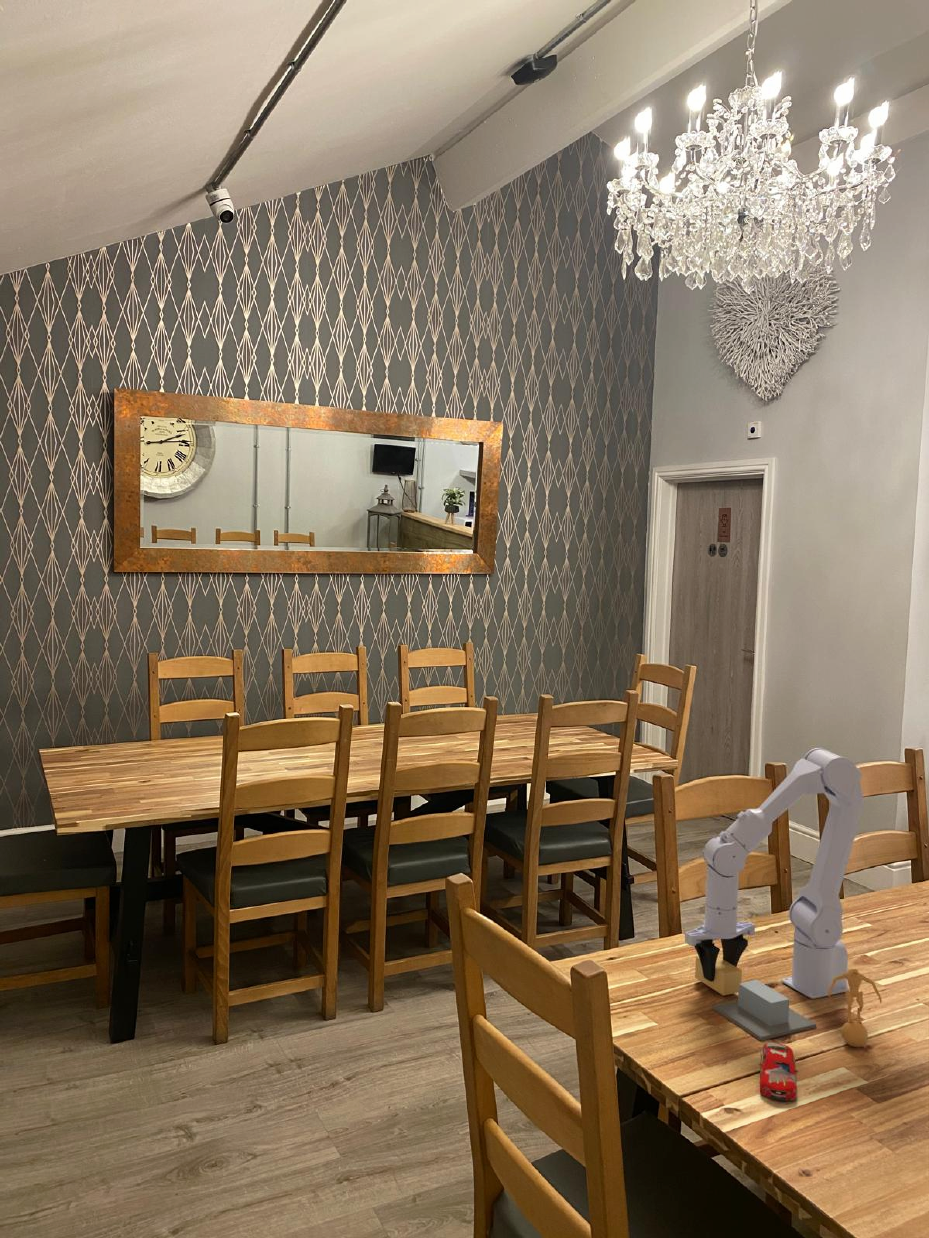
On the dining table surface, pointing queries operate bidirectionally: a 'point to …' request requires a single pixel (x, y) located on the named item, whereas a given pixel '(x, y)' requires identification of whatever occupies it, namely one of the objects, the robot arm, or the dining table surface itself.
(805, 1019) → the mat
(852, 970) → the figurine
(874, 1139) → the dining table surface
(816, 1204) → the dining table surface
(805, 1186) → the dining table surface
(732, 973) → the ochre brick
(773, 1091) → the race car
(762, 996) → the slate brick
